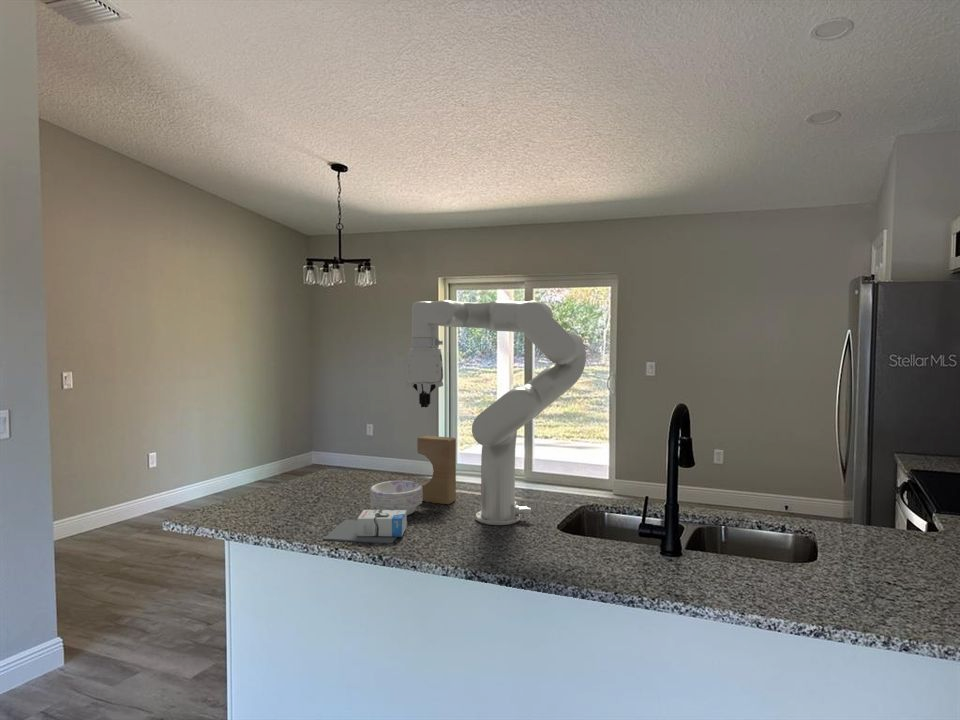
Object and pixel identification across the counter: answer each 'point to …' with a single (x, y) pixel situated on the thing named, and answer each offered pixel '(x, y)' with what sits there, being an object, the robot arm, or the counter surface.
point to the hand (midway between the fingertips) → (424, 406)
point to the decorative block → (439, 468)
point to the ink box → (382, 523)
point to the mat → (355, 534)
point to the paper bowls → (396, 495)
